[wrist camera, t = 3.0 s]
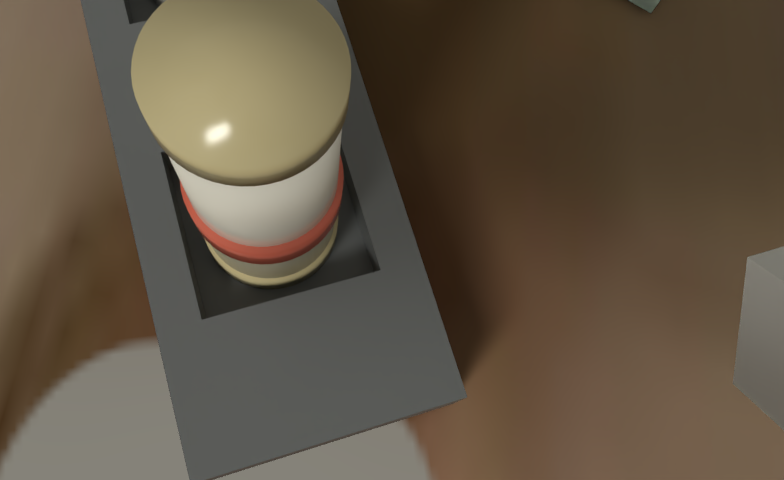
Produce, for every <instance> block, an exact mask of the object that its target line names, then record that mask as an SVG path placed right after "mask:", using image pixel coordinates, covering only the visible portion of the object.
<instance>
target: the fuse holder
mask: <svg viewBox="0 0 784 480" xmlns="http://www.w3.org/2000/svg"><path fill="white" fill-rule="evenodd" d="M317 1H318V2H319V3H320V4H321V5H323V6H324V7H325V9H326V10H327V11H328V12H329V13H330V14H331V15H332V17H333V18H334V20H335V21H336V22H337V24H338V25H339V27H340V29H341V31H342V33H343V35H344V37H345V40H346V43H347V46H348V49H349V54H350V59H351V82H350V93H349V103H348V111H347V115H346V119H345V122H344V124H343V127H342V134H341V147H340V156H341V159H342V164H343V172H344V181H343V191H342V201H341V206H340V210H339V214H338V227H337V237H336V241H335V245H334V247H333V250H332V252H331V254H330V256H329V257H328V259H327V260H326V262H325V263H324V264H323V266H322V267H321V268H320V269H319V270H318V271H317V272H316V273H314V274H313V275H312V276H311V277H309V278H308V279H306V280H304V281H303V282H300V283H298V284H296V285H293V286H290V287H286V288H280V289H260V288H255V287H251V286H248V285H245V284H243V283H241V282H239V281H237V280H235V279H234V278H232V277H231V276H229V275H228V274H227V273H226V272H225V271H224V270H223V269H221V267H220V266H219V265H218V264H217V262H216V261H215V259H214V258H213V256H212V254H211V252H210V250H209V248H208V246H207V244H206V241H205V239H204V237H203V236H202V235H201V234H200V232H199V231H198V229H197V227H196V226H195V224H194V222H193V220H192V218H191V216H190V214H189V212H188V210H187V208H186V205H185V203H184V201H183V197H182V193H181V187H180V179H179V177H178V175H177V173H176V171H175V169H174V167H173V165H172V163H171V161H170V158H169V156H168V155H167V154H166V153H165V151H164V150H163V149H162V148H161V147H160V145H159V144H158V143H157V141H156V139H155V138H154V136H153V134H152V133H151V131H150V129H149V126H148V124H147V122H146V120H145V118H144V116H143V114H142V112H141V110H140V108H139V105H138V103H137V101H136V98H135V95H134V91H133V87H132V78H131V63H132V56H133V51H134V47H135V44H136V41H137V38H138V36H139V34H140V32H141V30H142V28H143V26H144V24H145V23H146V22H147V20H148V19H149V18H150V16H151V15H152V13H153V12H154V11H155V10H156V9H157V8H158V7H159V5H158V4H157V3H155V2H154V1H153V0H81V4H82V8H83V13H84V17H85V21H86V26H87V30H88V35H89V39H90V43H91V48H92V52H93V57H94V61H95V65H96V70H97V74H98V79H99V83H100V87H101V92H102V96H103V101H104V105H105V110H106V114H107V118H108V123H109V127H110V132H111V136H112V140H113V145H114V149H115V154H116V158H117V162H118V167H119V171H120V176H121V180H122V184H123V189H124V193H125V198H126V202H127V206H128V211H129V215H130V220H131V224H132V228H133V233H134V237H135V242H136V246H137V250H138V255H139V259H140V264H141V268H142V272H143V277H144V281H145V286H146V290H147V294H148V299H149V303H150V308H151V312H152V317H153V321H154V325H155V330H156V334H157V339H158V343H159V347H160V352H161V356H162V360H163V365H164V369H165V374H166V378H167V382H168V387H169V391H170V396H171V400H172V404H173V409H174V413H175V418H176V422H177V427H178V431H179V435H180V440H181V444H182V449H183V453H184V457H185V462H186V466H187V471H188V474H189V479H190V480H213V479H216V478H219V477H223V476H226V475H229V474H232V473H235V472H239V471H242V470H245V469H248V468H251V467H254V466H257V465H260V464H264V463H267V462H270V461H273V460H276V459H279V458H283V457H286V456H289V455H292V454H295V453H299V452H302V451H305V450H308V449H311V448H314V447H318V446H321V445H324V444H327V443H330V442H333V441H336V440H340V439H343V438H346V437H349V436H352V435H355V434H359V433H362V432H365V431H368V430H371V429H374V428H378V427H381V426H384V425H387V424H390V423H393V422H397V421H400V420H403V419H406V418H409V417H412V416H416V415H419V414H422V413H425V412H428V411H431V410H435V409H438V408H441V407H444V406H447V405H450V404H453V403H455V402H457V401H460V400H462V399H464V398H466V397H467V395H466V392H465V389H464V386H463V383H462V380H461V377H460V373H459V370H458V367H457V364H456V361H455V358H454V355H453V352H452V349H451V346H450V343H449V340H448V337H447V334H446V331H445V328H444V325H443V322H442V319H441V316H440V313H439V310H438V307H437V304H436V301H435V298H434V295H433V292H432V289H431V285H430V282H429V279H428V276H427V273H426V270H425V267H424V264H423V261H422V258H421V255H420V252H419V249H418V246H417V243H416V240H415V237H414V234H413V231H412V228H411V225H410V222H409V219H408V216H407V213H406V210H405V207H404V204H403V201H402V197H401V194H400V191H399V188H398V185H397V182H396V179H395V176H394V173H393V170H392V167H391V164H390V161H389V158H388V155H387V152H386V149H385V146H384V143H383V140H382V137H381V134H380V131H379V128H378V125H377V122H376V119H375V116H374V113H373V109H372V106H371V103H370V100H369V97H368V94H367V91H366V88H365V85H364V82H363V79H362V76H361V73H360V70H359V67H358V64H357V61H356V58H355V55H354V52H353V49H352V46H351V43H350V40H349V37H348V34H347V31H346V28H345V24H344V21H343V18H342V15H341V12H340V9H339V6H338V3H337V0H317Z"/></svg>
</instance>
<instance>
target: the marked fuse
mask: <svg viewBox="0 0 784 480" xmlns="http://www.w3.org/2000/svg"><path fill="white" fill-rule="evenodd" d="M131 78H132V87H133V91H134V95H135V98H136V101H137V103H138V105H139V108H140V110H141V112H142V114H143V116H144V118H145V120H146V122H147V124H148V126H149V129H150V131H151V133H152V134H153V136H154V138H155V139H156V141H157V143H158V144H159V145H160V147H161V148H162V149H163V150H164V151H165V153H166V154H167V155H168V156H169V158H170V161H171V163H172V165H173V167H174V169H175V171H176V173H177V175H178V177H179V179H180V187H181V193H182V197H183V201H184V203H185V205H186V208H187V210H188V212H189V214H190V216H191V218H192V220H193V222H194V224H195V226H196V227H197V229H198V231H199V232H200V234H201V235H202V236H203V237H204V239H205V241H206V244H207V246H208V248H209V250H210V252H211V254H212V256H213V258H214V259H215V261H216V262H217V264H218V265H219V266H220V267H221V269H223V270H224V271H225V272H226V273H227V274H228V275H229V276H231V277H232V278H234V279H235V280H237V281H239V282H241V283H243V284H245V285H248V286H251V287H255V288H260V289H280V288H286V287H290V286H293V285H296V284H298V283H300V282H303V281H304V280H306V279H308V278H309V277H311V276H312V275H313V274H314V273H316V272H317V271H318V270H319V269H320V268H321V267H322V266H323V264H324V263H325V262H326V260H327V259H328V257H329V256H330V254H331V252H332V250H333V247H334V245H335V241H336V237H337V227H338V214H339V210H340V206H341V201H342V191H343V181H344V172H343V164H342V159H341V156H340V147H341V134H342V127H343V124H344V122H345V119H346V115H347V111H348V103H349V93H350V82H351V59H350V54H349V49H348V46H347V43H346V40H345V37H344V35H343V33H342V31H341V29H340V27H339V25H338V24H337V22H336V21H335V20H334V18H333V17H332V15H331V14H330V13H329V12H328V11H327V10H326V9H325V7H324V6H323V5H321V4H320V3H319V2H318V1H317V0H166V1H165V2H163V3H162V4H161V5H160V6H159V7H158V8H157V9H156V10H155V11H154V12H153V13H152V15H151V16H150V18H149V19H148V20H147V22H146V23H145V24H144V26H143V28H142V30H141V32H140V34H139V36H138V38H137V41H136V44H135V47H134V51H133V56H132V63H131Z"/></svg>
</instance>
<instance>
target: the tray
mask: <svg viewBox="0 0 784 480" xmlns="http://www.w3.org/2000/svg"><path fill="white" fill-rule="evenodd" d="M628 1H630V2H632V3H634V4H635V5H637V6H639V7H641V8H642V9H644V10H646V11H648V12H650V13H652V11H653V10H654V8H655V7H656V6H657V4H658V3H659V2H660V0H628Z"/></svg>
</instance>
